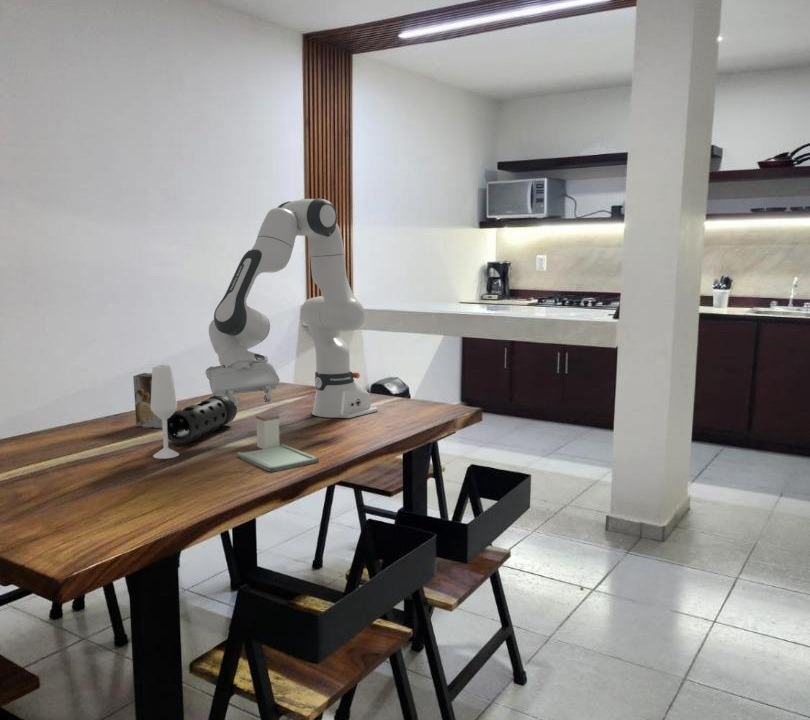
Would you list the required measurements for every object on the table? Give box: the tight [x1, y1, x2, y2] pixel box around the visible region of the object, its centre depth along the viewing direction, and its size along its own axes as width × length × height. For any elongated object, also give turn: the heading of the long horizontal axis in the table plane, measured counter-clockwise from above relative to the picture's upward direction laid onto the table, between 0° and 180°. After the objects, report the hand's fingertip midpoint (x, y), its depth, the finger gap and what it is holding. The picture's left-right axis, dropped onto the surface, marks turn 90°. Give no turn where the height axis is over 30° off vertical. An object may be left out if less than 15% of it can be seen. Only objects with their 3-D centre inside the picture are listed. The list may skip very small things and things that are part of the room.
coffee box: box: [133, 372, 163, 429], centre depth 225 cm, size 9×6×16 cm
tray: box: [236, 443, 320, 473], centre depth 189 cm, size 14×18×1 cm
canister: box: [255, 412, 280, 450], centre depth 200 cm, size 5×5×9 cm
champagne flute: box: [151, 364, 180, 460], centre depth 191 cm, size 7×7×24 cm
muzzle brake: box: [167, 395, 239, 447], centre depth 214 cm, size 10×28×10 cm, turn 166°
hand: (253, 402), depth 205 cm, fingers open, 8 cm apart
